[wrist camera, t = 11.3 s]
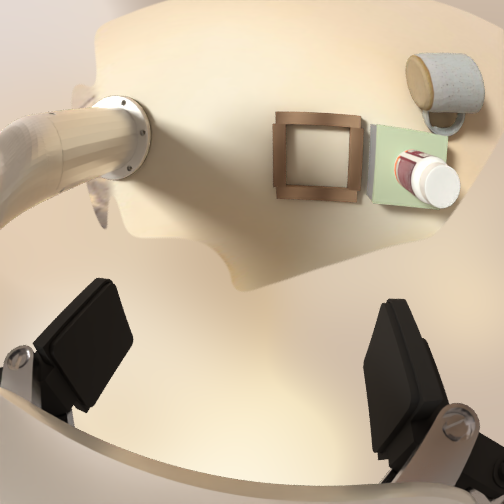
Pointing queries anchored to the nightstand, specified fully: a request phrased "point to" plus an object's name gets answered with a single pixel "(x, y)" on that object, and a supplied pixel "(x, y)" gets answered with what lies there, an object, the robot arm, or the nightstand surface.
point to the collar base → (317, 191)
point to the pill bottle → (427, 178)
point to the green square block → (383, 158)
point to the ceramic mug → (445, 86)
